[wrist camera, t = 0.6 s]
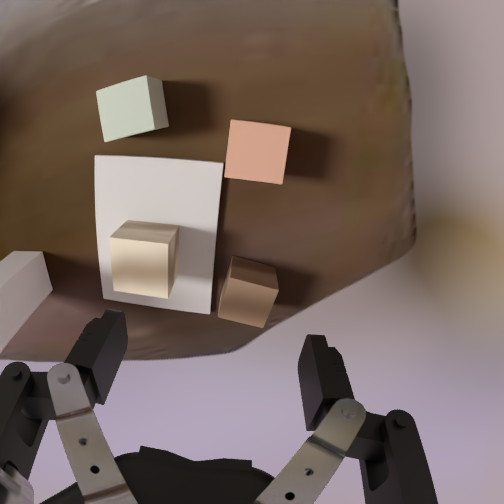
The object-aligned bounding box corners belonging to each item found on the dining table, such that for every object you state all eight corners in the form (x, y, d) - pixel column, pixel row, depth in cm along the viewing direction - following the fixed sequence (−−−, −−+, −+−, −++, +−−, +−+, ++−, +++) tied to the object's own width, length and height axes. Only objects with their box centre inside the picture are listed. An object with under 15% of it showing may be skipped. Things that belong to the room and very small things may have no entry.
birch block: (127, 219, 32) (109, 237, 28) (179, 225, 32) (168, 244, 28) (129, 268, 35) (113, 290, 30) (177, 274, 35) (168, 298, 30)
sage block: (117, 93, 27) (96, 91, 22) (161, 80, 27) (146, 75, 22) (124, 137, 29) (104, 142, 24) (169, 126, 29) (154, 129, 24)
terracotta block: (234, 119, 29) (230, 119, 24) (284, 125, 29) (291, 127, 24) (228, 167, 31) (224, 177, 26) (277, 173, 31) (282, 184, 26)
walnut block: (232, 255, 35) (230, 277, 30) (275, 266, 35) (278, 290, 31) (221, 291, 37) (217, 316, 32) (261, 302, 37) (263, 327, 33)
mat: (97, 154, 30) (94, 155, 29) (223, 162, 30) (223, 163, 30) (105, 296, 37) (103, 298, 36) (210, 311, 38) (209, 314, 37)
